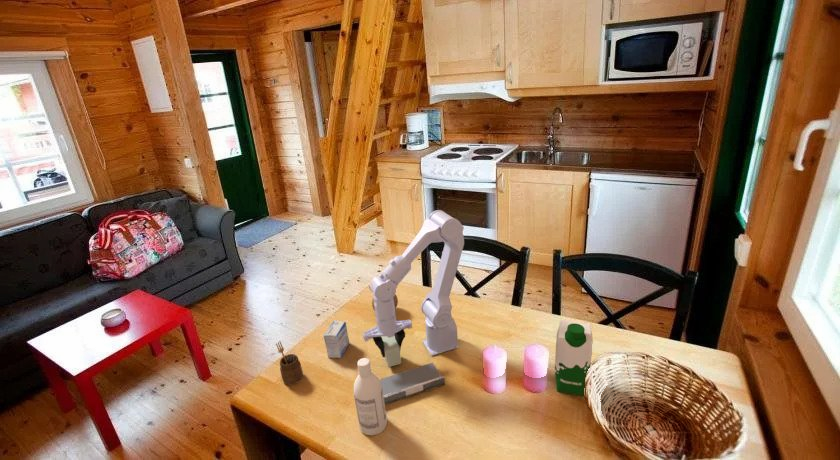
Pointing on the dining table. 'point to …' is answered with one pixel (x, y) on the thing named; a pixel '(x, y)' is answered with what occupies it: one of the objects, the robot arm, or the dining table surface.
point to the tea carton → (391, 351)
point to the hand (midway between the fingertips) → (390, 352)
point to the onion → (393, 299)
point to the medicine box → (336, 339)
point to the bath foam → (369, 400)
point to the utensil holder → (290, 367)
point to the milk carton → (572, 356)
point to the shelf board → (411, 382)
